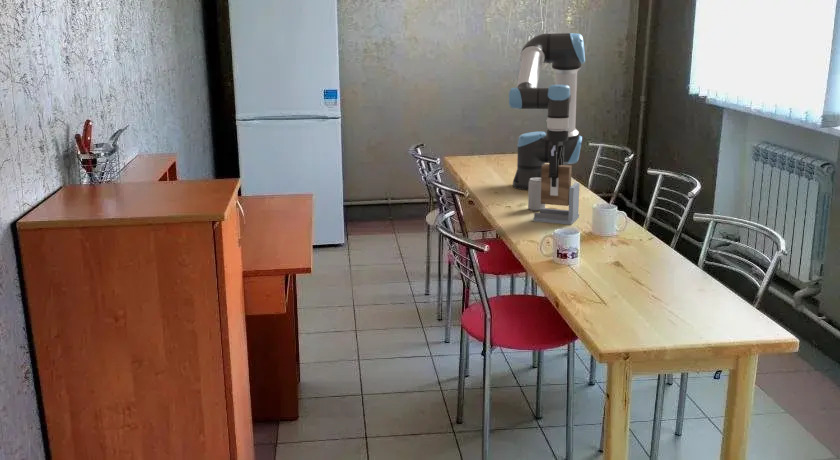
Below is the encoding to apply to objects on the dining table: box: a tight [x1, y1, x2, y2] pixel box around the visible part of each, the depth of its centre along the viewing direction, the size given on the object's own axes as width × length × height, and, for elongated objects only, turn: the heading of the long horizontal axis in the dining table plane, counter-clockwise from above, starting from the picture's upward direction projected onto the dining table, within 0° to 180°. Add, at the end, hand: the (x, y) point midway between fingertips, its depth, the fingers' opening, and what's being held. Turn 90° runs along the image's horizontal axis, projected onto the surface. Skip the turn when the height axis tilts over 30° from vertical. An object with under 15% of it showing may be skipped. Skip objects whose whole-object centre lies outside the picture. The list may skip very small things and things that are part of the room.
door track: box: [532, 182, 581, 225], centre depth 285 cm, size 12×14×13 cm
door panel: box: [541, 163, 573, 207], centre depth 284 cm, size 4×10×14 cm, turn 66°
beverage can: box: [527, 178, 546, 212], centre depth 299 cm, size 6×6×12 cm
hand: (555, 193), depth 285 cm, fingers closed on door panel, 3 cm apart
